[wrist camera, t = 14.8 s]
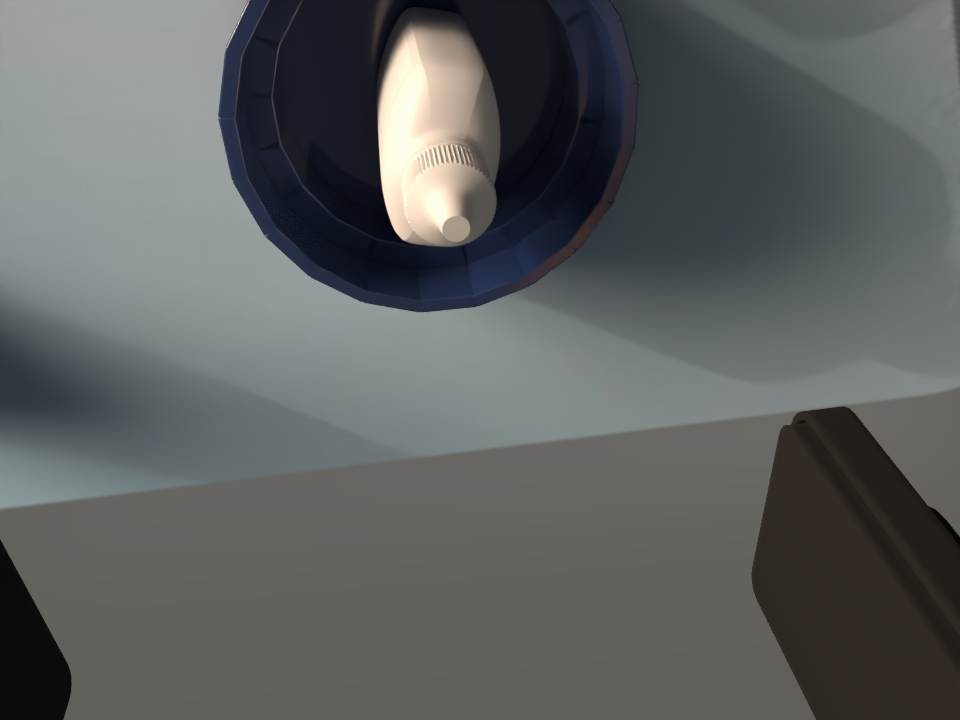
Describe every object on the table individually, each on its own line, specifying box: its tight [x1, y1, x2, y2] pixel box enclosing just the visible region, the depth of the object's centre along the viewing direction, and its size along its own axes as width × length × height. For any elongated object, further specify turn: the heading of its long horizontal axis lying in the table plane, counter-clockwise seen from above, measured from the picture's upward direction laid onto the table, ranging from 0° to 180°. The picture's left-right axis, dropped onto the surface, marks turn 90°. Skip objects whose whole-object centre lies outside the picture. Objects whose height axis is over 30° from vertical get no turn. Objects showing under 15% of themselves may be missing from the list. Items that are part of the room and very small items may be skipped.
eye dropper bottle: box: [376, 7, 500, 247], centre depth 26 cm, size 4×6×12 cm
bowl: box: [218, 0, 639, 312], centre depth 29 cm, size 13×13×6 cm
